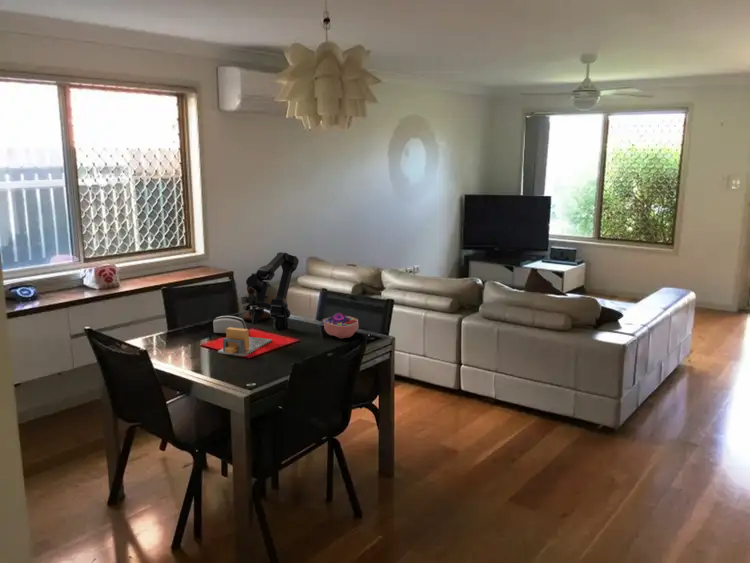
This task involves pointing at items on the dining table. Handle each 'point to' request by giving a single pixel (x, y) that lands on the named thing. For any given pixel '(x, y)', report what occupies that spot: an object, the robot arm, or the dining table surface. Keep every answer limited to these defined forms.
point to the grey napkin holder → (227, 323)
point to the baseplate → (251, 346)
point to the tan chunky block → (237, 334)
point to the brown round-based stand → (248, 314)
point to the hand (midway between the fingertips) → (253, 324)
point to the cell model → (340, 325)
